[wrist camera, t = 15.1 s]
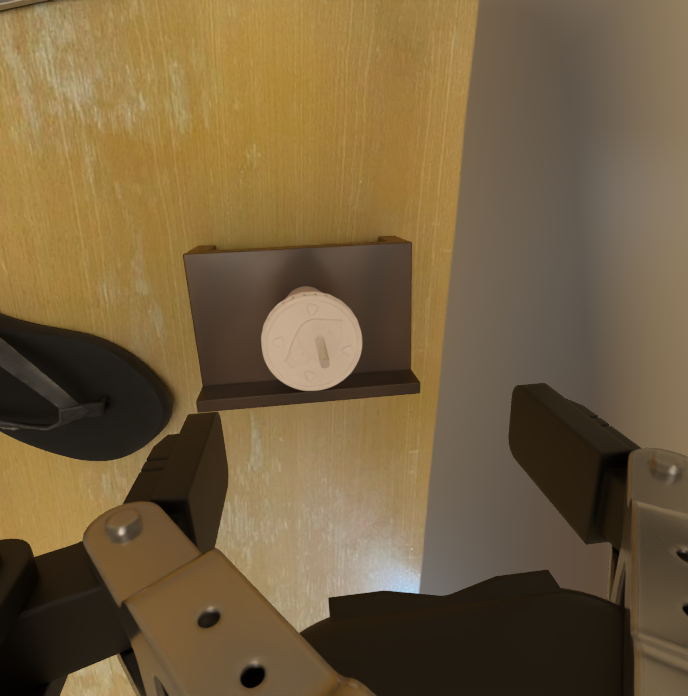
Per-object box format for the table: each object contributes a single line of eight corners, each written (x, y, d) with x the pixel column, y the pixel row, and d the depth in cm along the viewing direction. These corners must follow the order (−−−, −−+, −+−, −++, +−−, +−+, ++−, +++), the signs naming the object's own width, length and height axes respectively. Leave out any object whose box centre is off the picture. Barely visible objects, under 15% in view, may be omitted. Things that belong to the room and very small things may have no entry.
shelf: (395, 235, 42) (422, 245, 34) (395, 356, 46) (420, 393, 38) (196, 246, 40) (173, 259, 32) (214, 371, 44) (197, 412, 36)
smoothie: (360, 312, 38) (399, 375, 25) (301, 360, 39) (309, 446, 25) (310, 252, 36) (324, 286, 23) (249, 304, 37) (229, 365, 23)
